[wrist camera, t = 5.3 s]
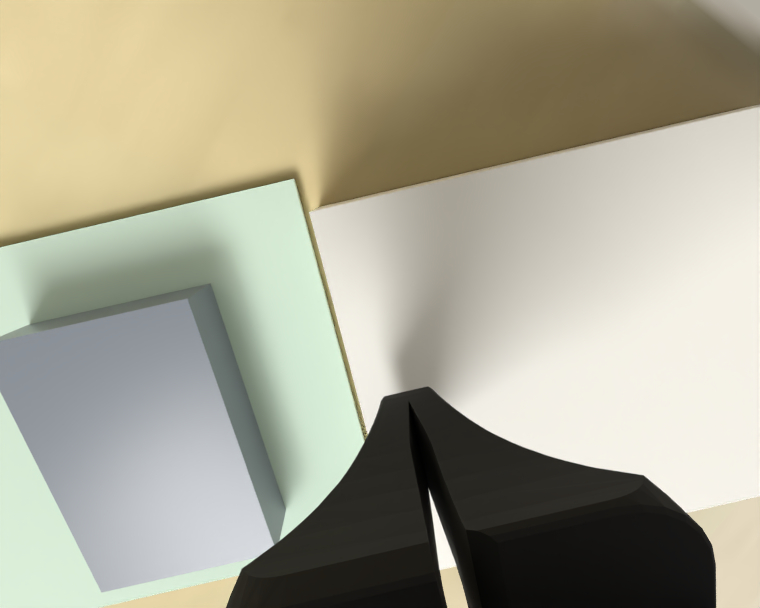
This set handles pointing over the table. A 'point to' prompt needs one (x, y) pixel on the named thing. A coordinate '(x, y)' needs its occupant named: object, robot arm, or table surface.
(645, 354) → the white flat block
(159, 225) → the mat
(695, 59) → the table surface
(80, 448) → the thick grey-blue block
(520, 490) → the robot arm
